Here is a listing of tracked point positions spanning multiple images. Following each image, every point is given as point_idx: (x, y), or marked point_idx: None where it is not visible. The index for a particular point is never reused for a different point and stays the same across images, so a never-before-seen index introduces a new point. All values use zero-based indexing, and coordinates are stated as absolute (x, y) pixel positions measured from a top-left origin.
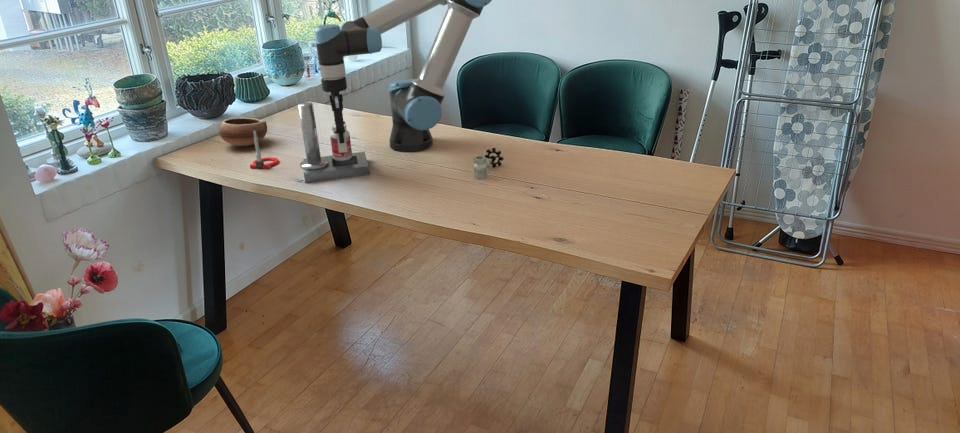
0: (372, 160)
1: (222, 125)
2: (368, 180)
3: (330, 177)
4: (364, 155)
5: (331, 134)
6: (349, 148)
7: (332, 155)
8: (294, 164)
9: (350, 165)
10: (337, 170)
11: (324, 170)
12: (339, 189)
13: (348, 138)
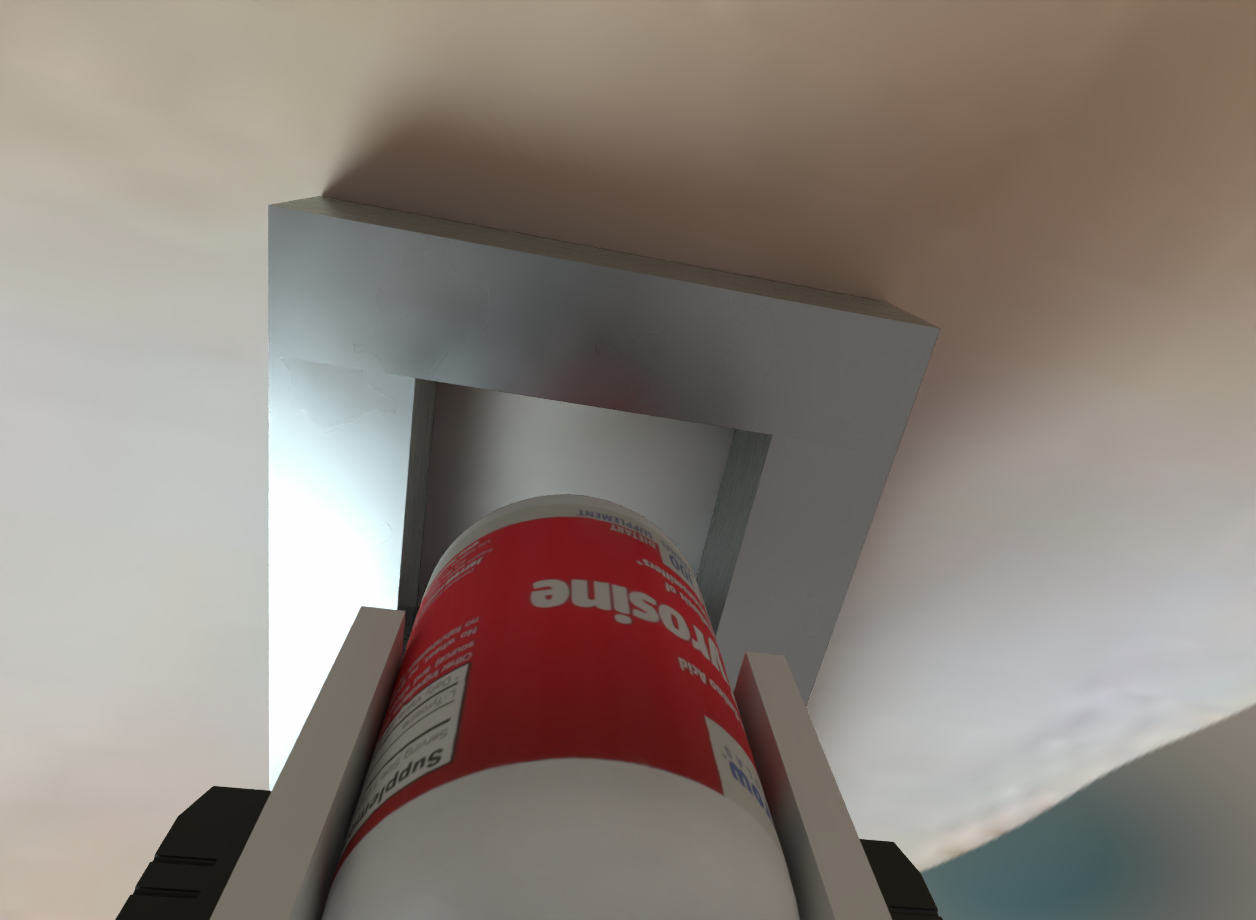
0: (372, 101)
1: None
2: (1038, 357)
3: None
4: (463, 259)
5: None
6: (690, 619)
7: (270, 650)
8: None
9: (769, 531)
10: (810, 674)
11: None
12: (1047, 652)
13: (726, 763)
